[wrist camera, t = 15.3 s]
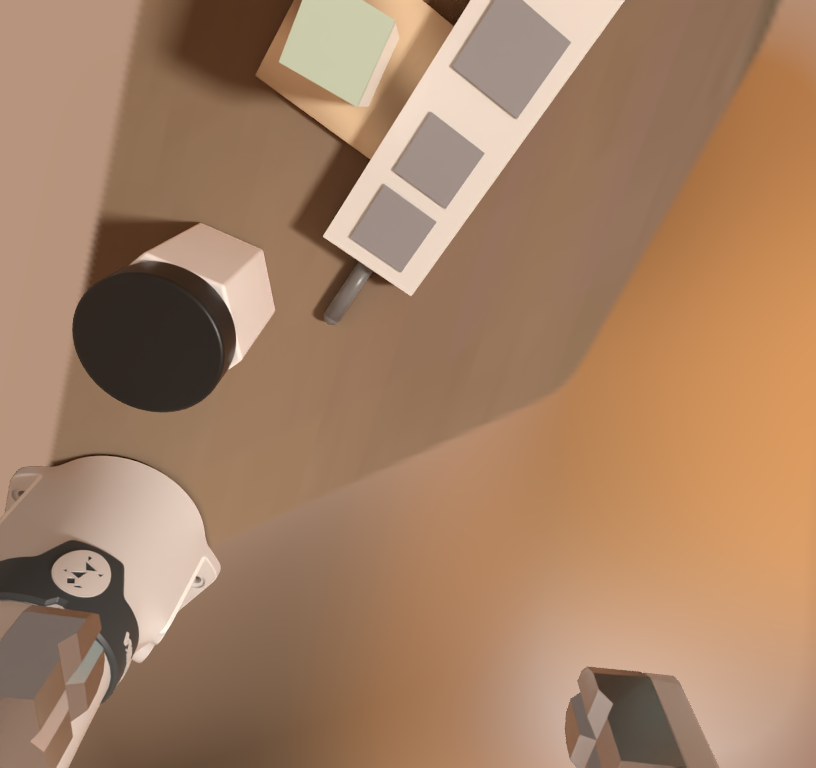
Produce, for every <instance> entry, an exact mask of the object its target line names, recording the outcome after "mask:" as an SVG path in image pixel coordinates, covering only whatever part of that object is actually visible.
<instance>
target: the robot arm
mask: <svg viewBox="0 0 816 768" xmlns="http://www.w3.org/2000/svg"><path fill="white" fill-rule="evenodd" d="M220 570H221V567H220V564H219V562H218V560H217V558H216V557H215V555H214V554H213V552H212V551H211V549H210V548H209V547H208V545H207V542H206V538H205V532H204V526H203V522H202V519H201V516H200V514H199V512H198V510H197V508H196V506H195V504H194V503H193V501H192V500H191V499H190V497H189V496H188V495H187V494H186V492H185V491H184V490H183V489H182V488H181V487H180V486H179V485H177V484H176V483H175V482H174V481H173V480H171V479H170V478H169V477H167V476H166V475H164V474H162V473H161V472H159V471H157V470H156V469H153V468H151V467H149V466H147V465H145V464H142V463H139V462H137V461H133V460H130V459H125V458H120V457H113V456H90V457H84V458H79V459H76V460H73V461H70V462H67V463H65V464H62V465H59V466H54V467H42V466H41V467H40V466H29V467H23V468H21V469H19V470H18V471H17V472H16V473H15V474H14V476H13V477H12V478H11V480H10V485H9V491H8V497H7V503H6V508H5V514H4V515H3V516H2V517H1V518H0V768H68V767H69V765H70V763H71V761H72V759H73V757H74V755H75V753H76V751H77V749H78V746H79V744H80V742H81V740H82V738H83V736H84V734H85V732H86V730H87V728H88V726H89V724H90V722H91V720H92V718H93V716H94V715H95V713H96V711H97V709H98V707H99V706H100V705H101V704H102V703H104V702H105V701H106V700H107V699H108V698H109V697H110V695H111V694H112V693H113V691H114V690H115V688H116V686H117V685H118V684H119V683H120V680H122V679H123V677H124V675H125V673H126V671H127V670H128V667H129V665H130V662H131V659H132V660H134V661H136V662H137V663H138V662H139V663H141V662H142V661H143V660H144V659H145V658H146V657H147V656H148V654H149V653H150V652H151V650H152V649H153V647H154V645H156V644H158V643H159V642H160V641H161V640H162V638H163V637H164V635H165V633H166V631H167V630H168V628H169V626H170V625H171V623H172V621H173V619H174V618H175V616H176V614H177V612H178V611H179V610H180V609H181V608H183V607H184V606H185V605H186V604H187V603H189V602H190V601H191V600H192V599H193V598H195V597H196V596H197V595H198V594H199V593H200V592H202V591H203V590H204V589H205V588H206V587H208V586H209V585H210V584H211V583H212V582H213V581H214V580H215V579H216V578H217V576H218V574H219V572H220ZM197 576H199V577H197ZM578 685H579V688H580V693H579V694H577V695H576V696H574V697H573V698H571V699H570V702H569V705H568V708H567V711H566V722H565V734H566V744H567V749H568V753H569V758H570V760H571V761H572V763H574V765H575V766H576V767H577V768H719V766H718V764H717V761H716V759H715V757H714V755H713V753H712V750H711V748H710V746H709V744H708V742H707V740H706V738H705V736H704V733H703V731H702V729H701V727H700V725H699V723H698V720H697V718H696V716H695V714H694V712H693V710H692V708H691V705H690V703H689V701H688V699H687V697H686V695H685V693H684V691H683V689H682V686H681V684H680V682H679V681H678V680H677V679H676V678H675V677H674V676H669V675H660V674H651V673H642V672H638V671H637V672H636V671H627V670H616V669H607V668H596V667H586V668H584V669H583V670H582V671H581V674H580V676H579V679H578Z"/></svg>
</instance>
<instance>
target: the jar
mask: <svg viewBox="0 0 816 768" xmlns="http://www.w3.org/2000/svg"><path fill="white" fill-rule="evenodd" d="M274 312H275V307H274V302H273V297H272V292H271V287H270V282H269V277H268V272H267V268H266V263H265V258H264V253H263V250H262V249H260V248H258V247H255V246H253V245H251V244H248V243H246V242H244V241H242V240H239V239H237V238H235V237H232V236H230V235H228V234H226V233H223V232H221V231H219V230H216V229H214V228H212V227H210V226H207V225H205V224H203V223H198V224H197V225H195V226H193V227H191V228H189V229H187V230H185V231H184V232H182V233H180V234H178V235H176V236H174V237H172V238H170V239H169V240H167V241H165V242H163V243H161V244H159V245H157V246H155V247H154V248H152V249H150V250H148V251H146V252H144V253H143V254H142V255H140V256H139V257H138V258H137V259H136V260H134V261H133V262H132V263H131V264H130V265H128V266H126V267H124V268H122V269H120V270H118V271H117V272H115V273H113V274H111V275H109V276H107V277H106V278H104V279H102V280H100V281H99V282H97V283H96V284H94V285H93V286H92V287H91V288H90V289H89V290H88V291H87V292H86V293H85V294H84V295H83V297H82V298H81V300H80V302H79V303H78V305H77V308H76V310H75V314H74V318H73V328H72V331H73V340H74V345H75V349H76V352H77V354H78V357H79V359H80V361H81V363H82V365H83V367H84V368H85V370H86V372H87V373H88V374H89V376H90V377H91V378H92V379H93V380H94V382H95V383H96V384H97V385H98V386H99V387H100V388H102V389H103V390H104V391H105V392H106V393H108V394H109V395H111V396H112V397H114V398H115V399H117V400H119V401H121V402H122V403H124V404H127V405H129V406H131V407H134V408H138V409H141V410H145V411H151V412H174V411H180V410H183V409H187V408H189V407H191V406H194V405H195V404H197V403H199V402H200V401H202V400H203V399H205V398H206V397H207V396H208V395H209V394H210V393H211V392H212V391H213V389H214V388H215V387H216V385H217V384H218V383H219V381H220V380H221V378H222V377H223V376H224V374H225V373H226V371H227V370H229V369H230V368H232V367H233V366H234V365H236V364H237V363H239V362H240V361H241V360H242V359H243V357H244V356H245V354H246V353H247V351H248V350H249V349H250V347H251V346H252V344H253V343H254V341H255V340H256V338H257V337H258V336H259V334H260V333H261V331H262V330H263V328H264V327H265V325H266V324H267V322H268V321H269V320H270V318H271V317H272V315H273V314H274Z"/></svg>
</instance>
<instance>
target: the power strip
mask: <svg viewBox="0 0 816 768" xmlns="http://www.w3.org/2000/svg"><path fill="white" fill-rule="evenodd" d="M624 1H625V0H470V2H469V3H468V5H467V7H466V8H465V10H464V11H463V13H462V15H461V16H460V18H459V19H458V21H457V23H456V24H455V26H454V27H453V29H452V31H451V32H450V34H449V35H448V37H447V39H446V40H445V42H444V43H443V45H442V47H441V48H440V50H439V51H438V53H437V55H436V56H435V58H434V59H433V61H432V63H431V64H430V66H429V67H428V69H427V71H426V72H425V74H424V75H423V77H422V79H421V80H420V82H419V83H418V85H417V87H416V88H415V90H414V91H413V93H412V95H411V96H410V98H409V99H408V101H407V103H406V104H405V106H404V107H403V109H402V111H401V112H400V114H399V115H398V117H397V119H396V120H395V122H394V123H393V125H392V127H391V128H390V130H389V131H388V133H387V135H386V136H385V138H384V139H383V141H382V143H381V144H380V146H379V147H378V149H377V151H376V152H375V154H374V155H373V157H372V159H371V160H370V162H369V163H368V165H367V167H366V168H365V170H364V171H363V173H362V175H361V176H360V178H359V179H358V181H357V183H356V184H355V186H354V187H353V189H352V191H351V192H350V194H349V195H348V197H347V199H346V200H345V202H344V203H343V205H342V207H341V208H340V210H339V211H338V213H337V215H336V216H335V218H334V219H333V221H332V223H331V224H330V226H329V227H328V229H327V231H326V232H325V234H324V235H323V237H324V238H326V239H327V240H328V241H330V242H331V243H333V244H334V245H336V246H337V247H339V248H340V249H342V250H343V251H345V252H346V253H348V254H349V255H351V256H352V257H354V258H355V259H357V260H358V261H359V262H358V263H357V265H356V266H355V268H354V269H353V271H352V272H351V274H350V275H349V277H348V278H347V280H346V281H345V283H344V284H343V286H342V287H341V289H340V290H339V292H338V293H337V295H336V296H335V298H334V299H333V301H332V302H331V304H330V305H329V307H328V308H327V310H326V311H325V313H324V320H325V322H326V323H327V324H329V325H335V324H337V323H338V322H339V321H340V319H341V318H342V316H343V315H344V313H345V312H346V310H347V309H348V307H349V306H350V304H351V303H352V302H353V300H354V299H355V297H356V296H357V294H358V293H359V291H360V290H361V288H362V287H363V285H364V284H365V282H366V281H367V279H368V278H369V276H370V275H371V274H372V272H373V271H374V272H376V273H377V274H379V275H380V276H382V277H383V278H385V279H386V280H388V281H389V282H391V283H392V284H393V285H395V286H396V287H398V288H399V289H401V290H402V291H404V292H405V293H407V294H408V295H410V296H412V294H413V293H414V292H415V290H416V289H417V287H418V286H419V285H420V283H421V282H422V281H423V279H424V278H425V276H426V275H427V274H428V272H429V271H430V269H431V268H432V267H433V265H434V264H435V263H436V261H437V260H438V258H439V257H440V256H441V254H442V253H443V251H444V250H445V249H446V247H447V246H448V244H449V243H450V242H451V240H452V239H453V238H454V236H455V235H456V233H457V232H458V231H459V229H460V228H461V226H462V225H463V224H464V222H465V221H466V220H467V218H468V217H469V215H470V214H471V213H472V211H473V210H474V208H475V207H476V206H477V204H478V203H479V202H480V200H481V199H482V197H483V196H484V195H485V193H486V192H487V190H488V189H489V188H490V186H491V185H492V183H493V182H494V181H495V179H496V178H497V177H498V175H499V174H500V172H501V171H502V170H503V168H504V167H505V165H506V164H507V163H508V161H509V160H510V159H511V157H512V156H513V154H514V153H515V152H516V150H517V149H518V147H519V146H520V145H521V143H522V142H523V141H524V139H525V138H526V136H527V135H528V134H529V132H530V131H531V129H532V128H533V127H534V125H535V124H536V123H537V121H538V120H539V118H540V117H541V116H542V114H543V113H544V111H545V110H546V109H547V107H548V106H549V104H550V103H551V102H552V100H553V99H554V98H555V96H556V95H557V93H558V92H559V91H560V89H561V88H562V86H563V85H564V84H565V82H566V81H567V80H568V78H569V77H570V75H571V74H572V73H573V71H574V70H575V68H576V67H577V66H578V64H579V63H580V62H581V60H582V59H583V57H584V56H585V55H586V53H587V52H588V50H589V49H590V48H591V46H592V45H593V44H594V42H595V41H596V39H597V38H598V37H599V35H600V34H601V32H602V31H603V30H604V28H605V27H606V25H607V24H608V23H609V21H610V20H611V19H612V17H613V16H614V14H615V13H616V12H617V10H618V9H619V7H620V6H621V5H622V3H623V2H624Z"/></svg>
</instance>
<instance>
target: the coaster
mask: <svg viewBox="0 0 816 768" xmlns="http://www.w3.org/2000/svg"><path fill="white" fill-rule="evenodd" d="M363 1H365V2H366V3H368V4H370V5H371V6H373V7H375V8H376V9H378V10H379V11H381V12H383V13H384V14H386V15H388V16H389V17H391V18H392V19H394V20H395V22H396V26H397V30H398V34H399V40H398V42H397V44H396V46H395V49H394V51H393V53H392V55H391V58H390V60H389V62H388V64H387V66H386V69H385V71H384V73H383V75H382V77H381V80H380V82H379V84H378V86H377V88H376V91H375V93H374V95H373V97H372V99H371V102H370V104H369V106H368V107H356V106H354V105H352V104H351V103H349V102H347V101H345V100H344V99H342V98H340V97H338V96H337V95H335V94H333V93H331V92H330V91H328V90H326V89H325V88H323V87H321V86H319V85H318V84H316V83H314V82H312V81H311V80H309V79H307V78H305V77H304V76H302V75H300V74H298V73H297V72H295V71H293V70H292V69H290V68H288V67H286V66H285V65H283V64H281V63H279V60H280V57H281V55H282V52H283V50H284V47H285V44H286V42H287V39H288V36H289V34H290V31H291V29H292V26H293V23H294V21H295V18H296V16H297V13H298V10H299V8H300V5H301V2H302V0H294V1H293V3H292V5H291V7H290V9H289V11H288V12H287V14H286V16H285V18H284V20H283V22H282V24H281V26H280V28H279V30H278V32H277V34H276V36H275V38H274V40H273V42H272V44H271V45H270V47H269V49H268V51H267V53H266V55H265V57H264V59H263V61H262V63H261V65H260V67H259V69H258V71H257V73H256V75H255V76H256V77H258V78H259V79H260V80H262V81H263V82H265V83H266V84H267V85H269V86H270V87H271V88H273V89H274V90H276V91H277V92H278V93H280V94H281V95H282V96H284V97H285V98H287V99H288V100H289V101H291V102H292V103H293V104H295V105H296V106H298V107H299V108H300V109H302V110H303V111H304V112H306V113H307V114H309V115H310V116H311V117H313V118H314V119H315V120H317V121H318V122H319V123H321V124H322V125H324V126H325V127H326V128H328V129H329V130H330V131H332V132H333V133H335V134H336V135H337V136H339V137H340V138H341V139H343V140H344V141H346V142H347V143H348V144H350V145H351V146H352V147H354V148H355V149H357V150H358V151H359V152H361V153H362V154H363V155H365V156H366V157H368V158H369V159H370V160H371V159H372V157H373V155H374V154H375V152H376V151H377V149H378V147H379V146H380V144H381V143H382V141H383V139H384V138H385V136H386V135H387V133H388V131H389V130H390V128H391V127H392V125H393V123H394V122H395V120H396V119H397V117H398V115H399V114H400V112H401V111H402V109H403V107H404V106H405V104H406V103H407V101H408V99H409V98H410V96H411V95H412V93H413V91H414V90H415V88H416V87H417V85H418V83H419V82H420V80H421V79H422V77H423V75H424V74H425V72H426V71H427V69H428V67H429V66H430V64H431V63H432V61H433V59H434V58H435V56H436V55H437V53H438V51H439V50H440V48H441V47H442V45H443V43H444V42H445V40H446V39H447V37H448V35H449V34H450V32H451V31H452V29H453V27H454V26H453V25H452V24H450V23H449V22H448V21H447V20H446V19H444V18H443V17H442V16H441V15H440V14H438V13H437V12H436V11H435V10H434V9H432V8H431V7H430V6H429V5H427V4H426V3H425V2H424V1H423V0H363Z"/></svg>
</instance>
